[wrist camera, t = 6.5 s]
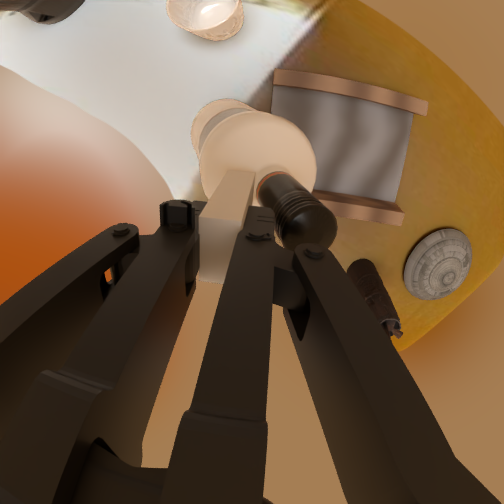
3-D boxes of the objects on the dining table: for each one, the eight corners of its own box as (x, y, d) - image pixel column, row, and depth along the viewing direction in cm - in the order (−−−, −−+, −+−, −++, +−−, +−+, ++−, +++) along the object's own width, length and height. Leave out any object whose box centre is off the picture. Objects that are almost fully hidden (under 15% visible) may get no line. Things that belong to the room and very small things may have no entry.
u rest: (262, 194, 43) (260, 207, 38) (274, 71, 34) (274, 68, 29) (389, 212, 42) (400, 226, 38) (412, 100, 33) (428, 102, 29)
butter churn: (400, 274, 48) (460, 408, 24) (357, 303, 51) (391, 442, 27) (375, 239, 45) (443, 383, 21) (329, 272, 49) (358, 425, 25)
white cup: (257, 5, 29) (250, -20, 20) (235, 51, 32) (221, 38, 24) (203, -8, 28) (183, -33, 19) (182, 37, 31) (155, 23, 23)
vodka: (177, 124, 35) (151, 217, 10) (235, 86, 34) (361, 84, 9) (215, 176, 40) (272, 344, 15) (271, 140, 39) (416, 251, 14)
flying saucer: (471, 219, 41) (487, 233, 36) (462, 285, 48) (474, 302, 43) (401, 233, 44) (413, 249, 39) (400, 301, 51) (408, 321, 46)
